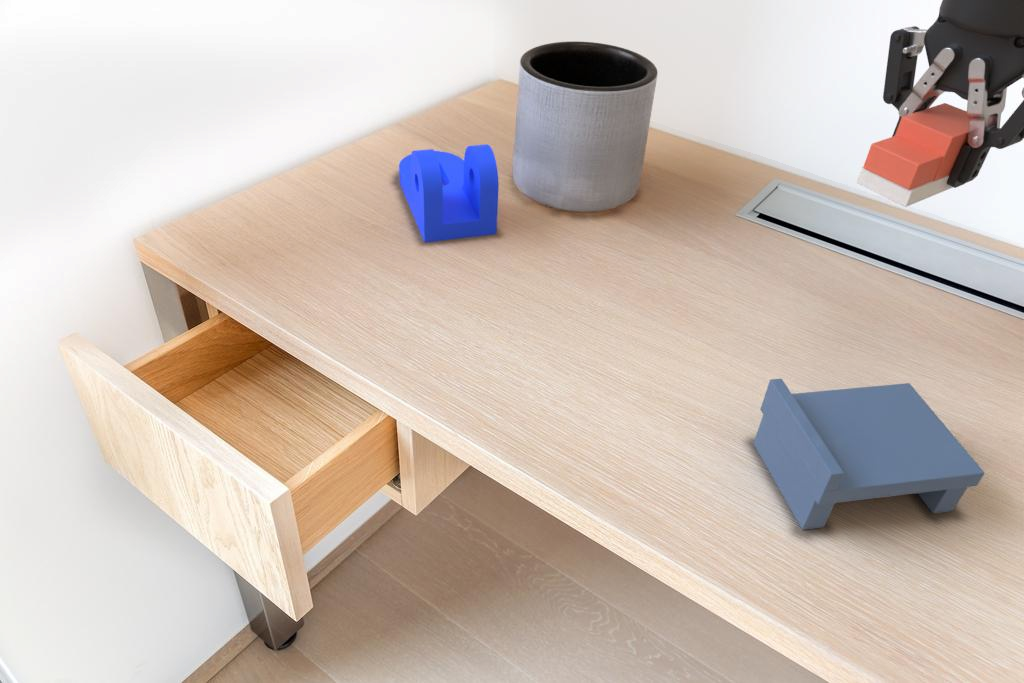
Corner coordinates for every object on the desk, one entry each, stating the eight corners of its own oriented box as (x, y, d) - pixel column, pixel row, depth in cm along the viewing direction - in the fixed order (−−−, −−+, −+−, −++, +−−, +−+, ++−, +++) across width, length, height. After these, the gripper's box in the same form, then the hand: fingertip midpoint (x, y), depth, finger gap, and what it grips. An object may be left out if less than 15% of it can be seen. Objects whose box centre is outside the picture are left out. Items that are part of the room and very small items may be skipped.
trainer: (923, 158, 72) (946, 101, 69) (972, 179, 69) (999, 121, 66) (854, 183, 67) (876, 123, 64) (904, 208, 64) (929, 147, 61)
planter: (504, 157, 106) (510, 38, 96) (622, 157, 108) (640, 40, 98) (520, 219, 93) (528, 89, 83) (652, 217, 95) (676, 90, 85)
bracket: (496, 234, 90) (499, 161, 85) (424, 242, 88) (423, 168, 83) (457, 163, 104) (457, 96, 98) (393, 169, 101) (390, 100, 96)
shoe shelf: (888, 425, 69) (917, 366, 65) (958, 516, 62) (996, 456, 57) (749, 439, 67) (769, 379, 63) (803, 535, 59) (831, 474, 55)
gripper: (1144, -23, 55) (1029, 196, 66) (955, -68, 64) (881, 131, 75) (1094, -11, 52) (981, 219, 62) (901, -61, 60) (831, 147, 71)
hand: (927, 170), depth 68 cm, fingers closed on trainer, 4 cm apart
